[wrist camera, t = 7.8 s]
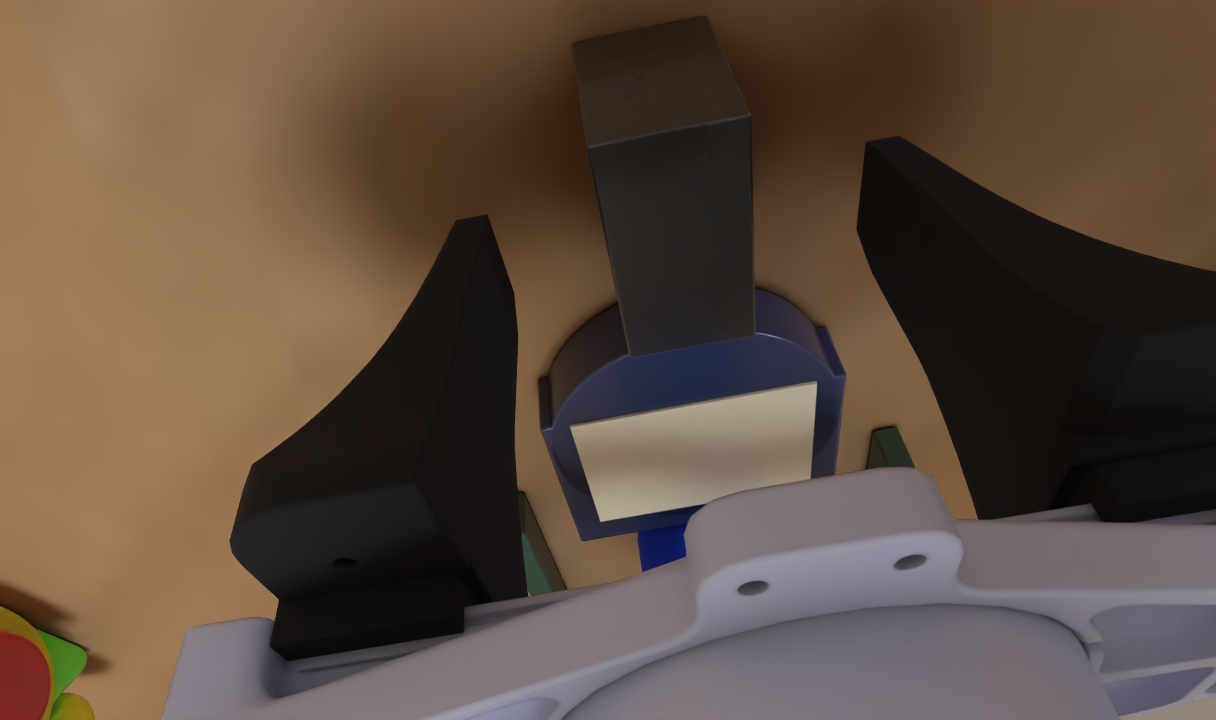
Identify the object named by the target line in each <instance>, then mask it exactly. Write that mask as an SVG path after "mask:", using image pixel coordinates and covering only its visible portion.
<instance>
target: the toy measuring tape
mask: <svg viewBox="0 0 1216 720" xmlns="http://www.w3.org/2000/svg"><path fill="white" fill-rule="evenodd" d="M86 662H87V655H86V653H85V651H84V650H83V649H81V648H80V647H78V646H76V645H74V644H71V643H69V642H66V641H64V640H62V639H59V638H57V637H55V636H52V635H50V634H47V633H45V632H43V631H40V630H38V629H35V628H33V626H32V625H30V624H29V623H28V622H27V621H26V620H25V619H23V618H22V617H20V616H19V615H17V614H15V613H14V612H12V611H10V610H8V609H6V608H4V607H2V606H0V720H95V716H94V712H93V709H92V707H91V706H90V704H89V703H88V702H87V701H86V700H85V699H84V698H83V697H81V696H79V695H77V694H73V693H62V692H63V691H64V690H65V689H66V688H67V687H68V686H69V685H70V684H71V682H72V681H73V680H74V679H75V678H76V677H77V676H78V675H79V674H80V673H81V672H82V671H83V669H84V667H85V665H86Z"/></svg>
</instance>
